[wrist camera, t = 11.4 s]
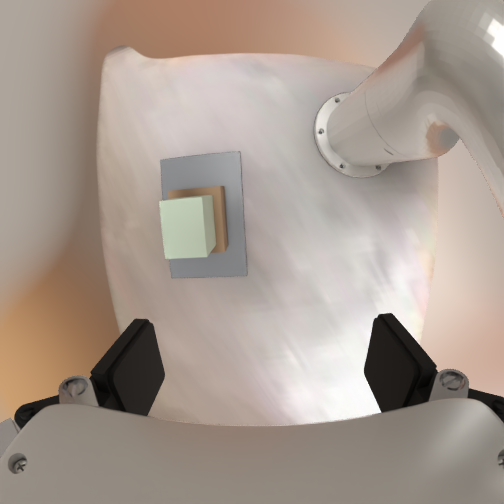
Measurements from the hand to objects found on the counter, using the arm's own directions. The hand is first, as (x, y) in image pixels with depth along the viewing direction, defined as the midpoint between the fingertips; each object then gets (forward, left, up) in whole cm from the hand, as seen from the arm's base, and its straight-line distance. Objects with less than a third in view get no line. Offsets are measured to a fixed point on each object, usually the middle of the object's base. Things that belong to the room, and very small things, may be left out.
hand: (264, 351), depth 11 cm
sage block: (+8, -3, -23) cm, 24 cm away
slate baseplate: (+8, -3, -28) cm, 29 cm away
